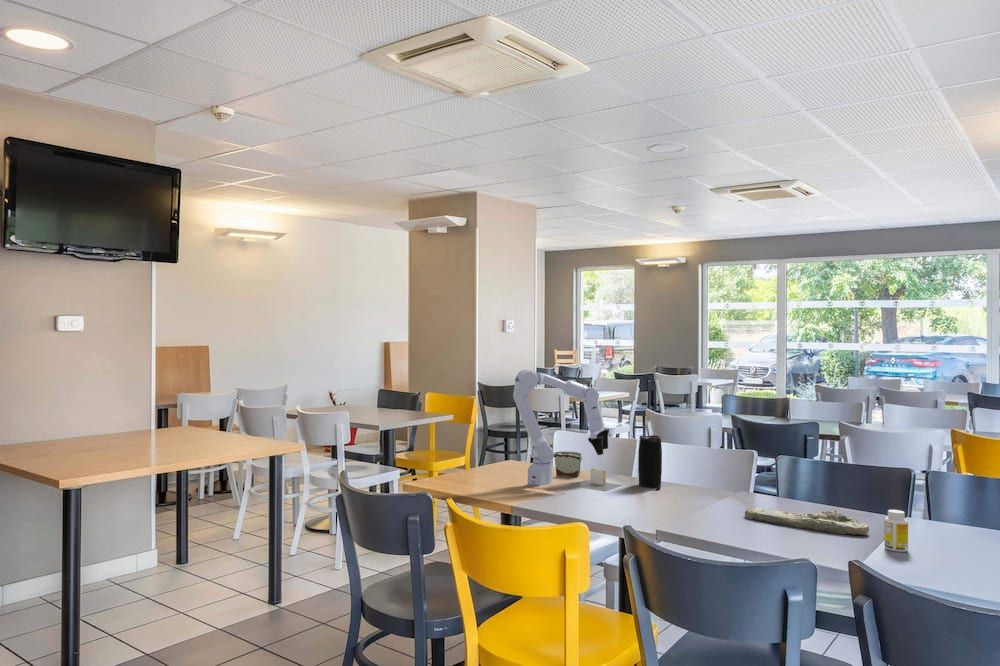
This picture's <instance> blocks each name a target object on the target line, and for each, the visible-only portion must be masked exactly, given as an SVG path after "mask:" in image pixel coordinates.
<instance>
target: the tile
mask: <svg viewBox="0 0 1000 666" xmlns="http://www.w3.org/2000/svg"><path fill="white" fill-rule="evenodd" d="M606 473H607V472H606V470H605V469H599V468H591V469H590V480H591V484H596V485H602V486H604V485H606V483H607V482H606V481H607V479H606V478H607V476H606Z"/></svg>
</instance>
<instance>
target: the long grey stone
mask: <svg viewBox="0 0 1000 666" xmlns="http://www.w3.org/2000/svg"><path fill="white" fill-rule="evenodd" d="M744 517H745V518H746V517H747V518H751V519H750V520H754V519H755V520H756V521H759V522H765V523H768V522H770V523H769V524H774V523H775V524H774V525H781V524H782V525H781V526H785V525H787V526H786V527H791V526H792V527H793V528H796V527H797V528H798V529H807V530H809V529H811V530H815V531H817V532H823V533H825V532H826V533H832V534H837V533H839V534H838V535H843V534H845V535H846V534H848V535H853V536H854V535H863V536H864V535H867V534H868V533H869V531H870V528H869V525H868V524H866V523H863V522H861V521H859V520H857V519H856V518H854V517H851V516H848V515H847V516H846V515H845V514H844V513H839V512H838V511H837V510H826V511H822V512H813V513H799V512H794V511H793V512H791V511H782V510H776V509H775V510H774V509H770V508H769V509H767V508H761V507H750V508H746V510H745V511H744ZM747 518H746V519H747ZM797 528H796V529H797Z"/></svg>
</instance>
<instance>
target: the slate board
mask: <svg viewBox="0 0 1000 666" xmlns="http://www.w3.org/2000/svg"><path fill="white" fill-rule="evenodd" d="M567 486H568V487H574V488H581V489H586V490H587V489H588V490H594V491H600V492H608V491H611V490H615V489H616V488H619V487H623V486H624V484H618V483H613V482H610V483H609V482H606V485H604V486H602V485H596V484H591V479H584V480H580V481H577V482H573V483H570V484H567V485H566V487H567Z"/></svg>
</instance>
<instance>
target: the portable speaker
mask: <svg viewBox="0 0 1000 666" xmlns="http://www.w3.org/2000/svg"><path fill="white" fill-rule="evenodd" d="M638 438H639V443H638V456H637V457H638V463H637V464H638V465H637V466H638V469H637V471H638V475H637V476H638V486H639V487H641V488H647V489H654V490H655V491H656V490H657V492H659V491H661V486H662V474H663V473H662V471H663V470H662V469H663V464H662V463H663V450H662V449H663V448H662V447H663V446H662V439H661V436H660V435H656V434H655V435H653V434H652V435H645V436H644V435H639V437H638Z"/></svg>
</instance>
